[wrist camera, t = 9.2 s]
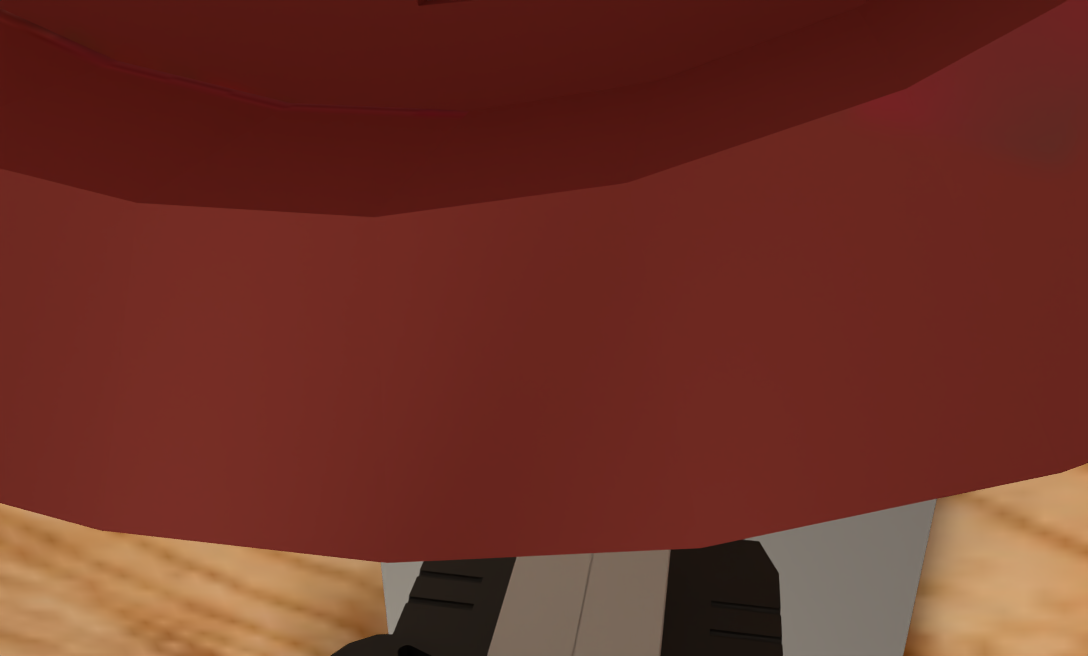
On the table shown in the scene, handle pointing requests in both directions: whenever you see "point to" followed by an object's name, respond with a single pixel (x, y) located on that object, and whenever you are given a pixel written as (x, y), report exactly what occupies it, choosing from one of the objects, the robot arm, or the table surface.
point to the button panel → (815, 581)
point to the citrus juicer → (535, 266)
